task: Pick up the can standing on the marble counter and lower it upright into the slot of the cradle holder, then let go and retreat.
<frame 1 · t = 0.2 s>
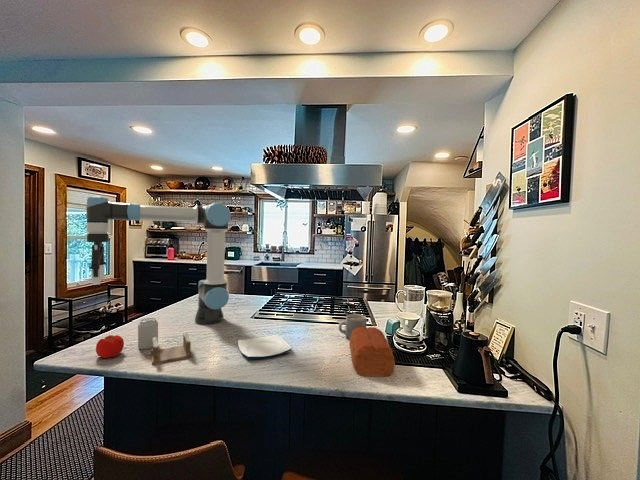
hand: (98, 282, 128), 28 cm above the counter, fingers open, 13 cm apart
bread: (369, 361, 119), on the counter
tomato: (110, 356, 119), on the counter
plate: (263, 350, 128), on the counter
can: (148, 347, 128), on the counter
cradle holder: (171, 355, 120), on the counter
coffee mug: (352, 337, 145), on the counter
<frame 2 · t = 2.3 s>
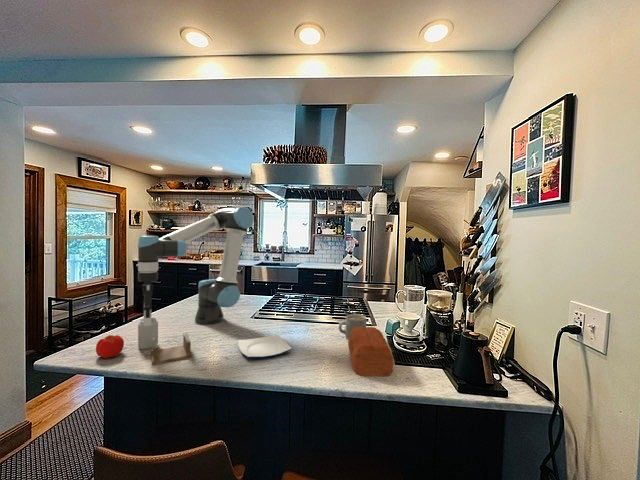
hand: (147, 320, 127), 11 cm above the counter, fingers open, 13 cm apart
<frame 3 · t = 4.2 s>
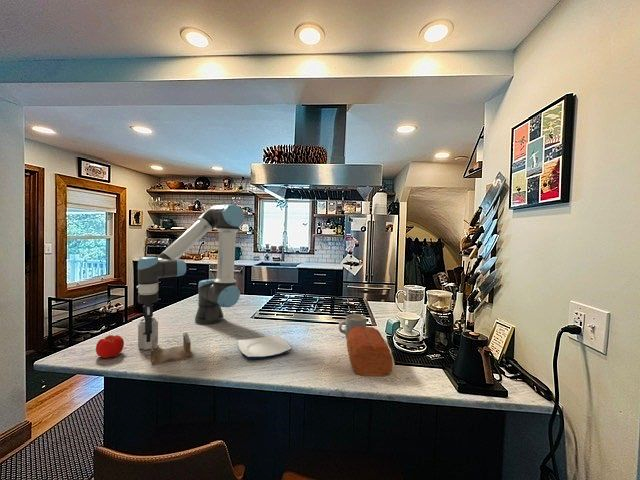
hand: (148, 345, 128), 1 cm above the counter, fingers closed on can, 7 cm apart
can: (148, 347, 128), on the counter, touching gripper
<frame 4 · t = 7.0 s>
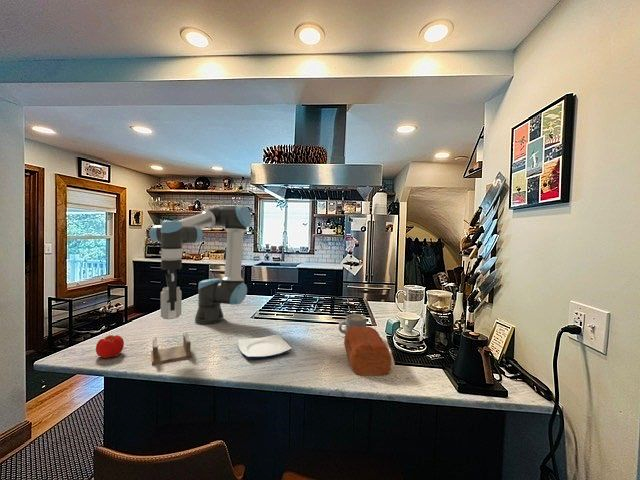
hand: (171, 315, 119), 16 cm above the counter, fingers closed on can, 7 cm apart
can: (171, 317, 119), point 16 cm above the counter, touching gripper
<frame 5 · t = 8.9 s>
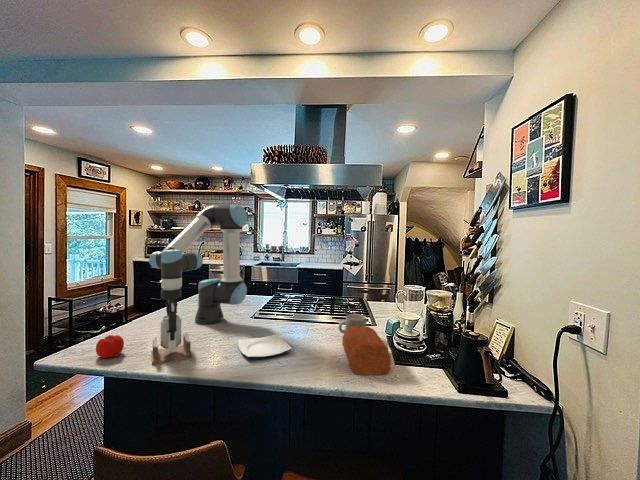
hand: (171, 344, 120), 5 cm above the counter, fingers closed on can, 7 cm apart
can: (171, 346, 120), point 4 cm above the counter, touching gripper
when the fingers open (4 cm above the counter, at t = 10.0 s): can drops 2 cm, resting on cradle holder.
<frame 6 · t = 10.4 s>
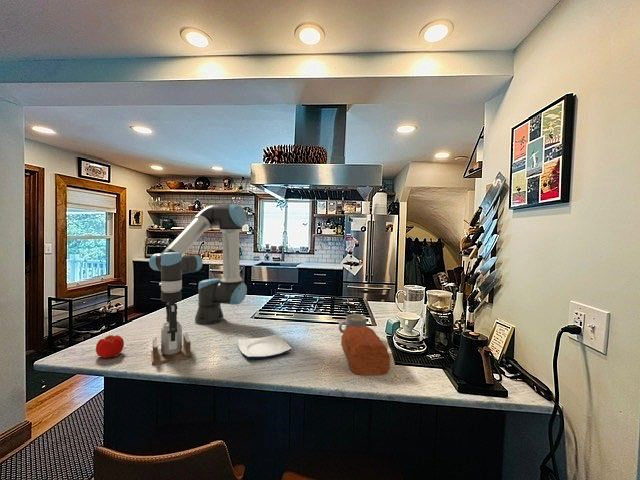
hand: (171, 342, 120), 5 cm above the counter, fingers open, 13 cm apart
can: (171, 352, 120), point 1 cm above the counter, touching cradle holder
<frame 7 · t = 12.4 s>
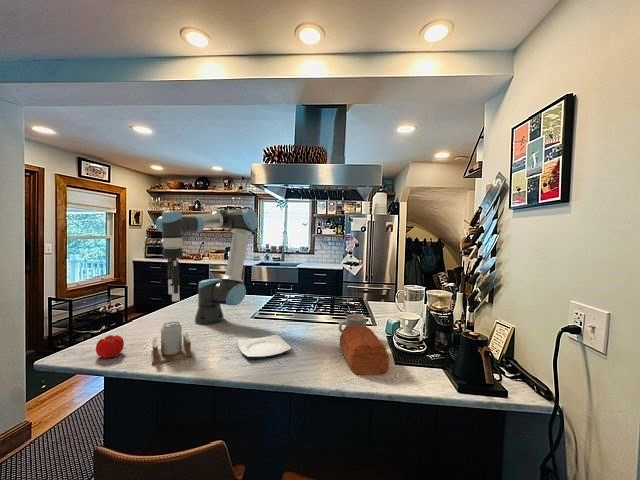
hand: (173, 297, 126), 22 cm above the counter, fingers open, 13 cm apart
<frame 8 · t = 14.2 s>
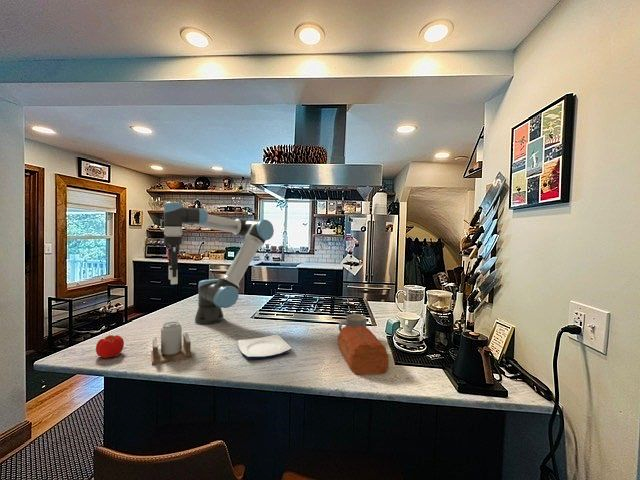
hand: (172, 281, 137), 27 cm above the counter, fingers open, 13 cm apart
at the end: can inside the target area on the cradle holder (0.3 cm from its centre), point 0.8 cm above the cradle holder's base; can tilted 0°; the gripper is holding nothing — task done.
